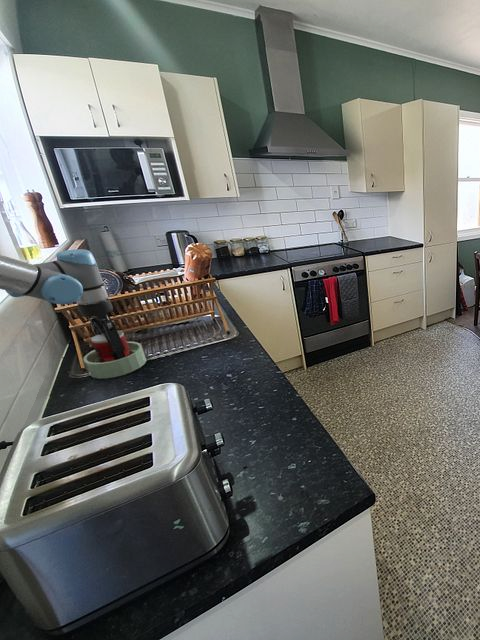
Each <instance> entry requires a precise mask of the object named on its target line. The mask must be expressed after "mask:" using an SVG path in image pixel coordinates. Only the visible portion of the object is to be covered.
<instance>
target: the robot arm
mask: <svg viewBox="0 0 480 640" xmlns="http://www.w3.org/2000/svg"><path fill="white" fill-rule="evenodd" d="M55 256H56V259H55V260H53V261H46V262H41V263H35V264H32V263H29V262H26V261H22V260H18V259H15V258H12V257H9V256H6V255H2V254H0V290H3V291H5V292H6V293H7V295H8V296H10V297H12V298H20V297H21V298H22V297H31V298H35V299H39V300H43V301H46V302H48V303H50V304H54V305H60V306H61V305H62V306H65V305H71V304H74V303H76V304H77V306H76V307H77V308H78V312H79V313H80V315H81V316H82V317H85V318H86V317H87V319H88V320H89V323H90V326H91V328H92V331H93V333H94V336H96V335H101V334H104V336H105V338H106V340H107V341H108V344H109V346H110V348H111V350H112V352H110V354H112V355H113V357H114V360H118V359H121V358H124V357H125V354H124V350H125V348H124V345H123V343H122V341H121V339H120V336H119V334H118V332H117V331H118V329H117V327H116V323H115V322H114V321H113V320H112V318H111V317H110V316H108V314H109V313H111V312H112V311H113V310H114V307H113V304H112V301H111V299H110V298H109V294H108V292H107V291H108V290H109V288H108V287H107V286H105V283H104V280H103V279H102V276H101V272H100V269H99V267H98V263H97V261H96V258H95V256H94V255H93V253H92V252H91V251H90V250H88V249H83V248H82V249H81V248H76V249H75V248H74V249H66V250H62V251H58V252H57V253H56V255H55Z"/></svg>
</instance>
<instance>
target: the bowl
mask: <svg viewBox="0 0 480 640" xmlns="http://www.w3.org/2000/svg"><path fill="white" fill-rule="evenodd" d="M127 344H128V346H129V349H130V352H131V355H129V356H127V357H124V358H121V359H118V360H114V361H110V362H103V363H100V360H99V358H98V356H97V353H96V351H95V349H93V350H91V351H90V352H88V353H86V355H85V356H83V361H82V362H84V365H85V368H86V370H87V372H88V374H89V376H90V377H91V378H93V379H102V380H103V379H113V378H118V377H121V376H125V375H127V374H130V373H132V372H135V371H136V370H138V369H140V368H141V367H143V366H144V365H145V364H146V363H147V357H146V354H145V351H144V349H143V345H142V344H141V343H139V342H137V341H127Z"/></svg>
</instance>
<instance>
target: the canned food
mask: <svg viewBox="0 0 480 640" xmlns="http://www.w3.org/2000/svg"><path fill="white" fill-rule="evenodd" d="M117 332H118V334H119V336H120V339H121V341H122V343H123V345H124V348H125V350H124V354H125V357H127V356H129V355H131V352H130V349H129V346H128V344H127V342H128V341H127V338H126V335H125V333H124V332H123V331H122V330H117ZM90 340H91V344H92V346H93V350H95V351H96V353H97V356H98V358H99V360H100V363H103V362H110V361H114V357H113V355H112V354H110V352H112V350H111V348H110V346H109V344H108V341H107V340H106V338H105V336H104V334H101V335H96V336H95V335H94V336H92V337H91V339H90Z"/></svg>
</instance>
